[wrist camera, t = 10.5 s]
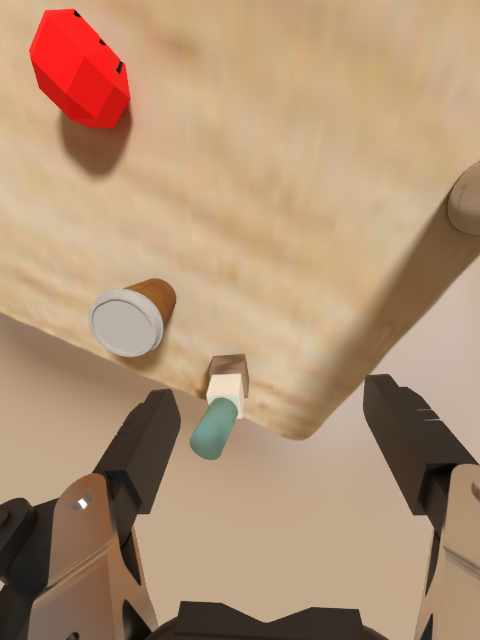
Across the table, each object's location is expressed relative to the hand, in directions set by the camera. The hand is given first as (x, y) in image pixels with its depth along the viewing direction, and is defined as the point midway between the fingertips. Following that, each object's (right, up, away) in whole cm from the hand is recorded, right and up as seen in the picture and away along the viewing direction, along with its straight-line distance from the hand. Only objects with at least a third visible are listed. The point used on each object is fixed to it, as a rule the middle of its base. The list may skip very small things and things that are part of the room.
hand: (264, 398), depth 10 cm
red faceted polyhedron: (-18, +32, +20) cm, 42 cm away
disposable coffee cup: (-15, +7, +31) cm, 35 cm away
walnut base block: (-3, -6, +36) cm, 37 cm away
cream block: (-3, -8, +32) cm, 33 cm away
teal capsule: (-3, -10, +27) cm, 29 cm away
